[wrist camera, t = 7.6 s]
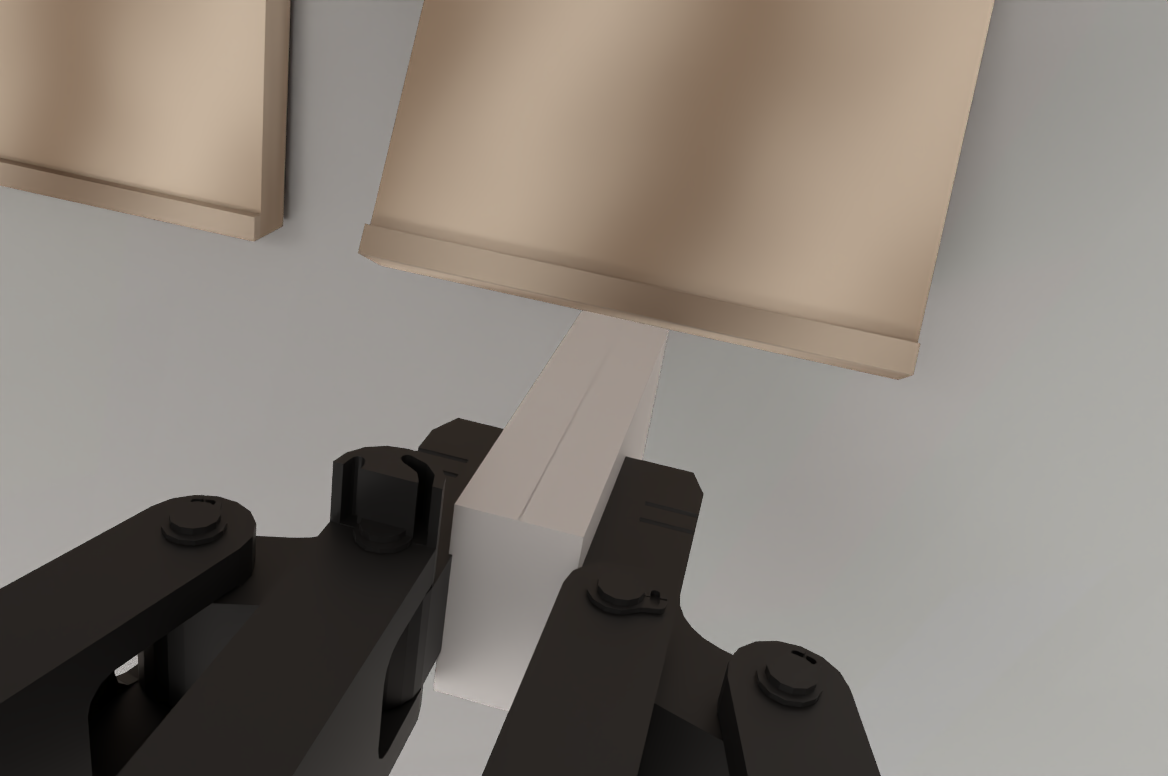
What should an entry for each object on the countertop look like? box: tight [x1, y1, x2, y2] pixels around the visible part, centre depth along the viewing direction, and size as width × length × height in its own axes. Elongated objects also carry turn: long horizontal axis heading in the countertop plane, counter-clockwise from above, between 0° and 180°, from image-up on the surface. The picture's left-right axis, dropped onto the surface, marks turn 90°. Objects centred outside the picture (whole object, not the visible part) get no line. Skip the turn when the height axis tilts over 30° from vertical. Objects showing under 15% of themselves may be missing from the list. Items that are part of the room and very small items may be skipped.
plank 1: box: [0, 0, 290, 241], centre depth 25 cm, size 11×8×2 cm
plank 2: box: [358, 0, 995, 380], centre depth 21 cm, size 11×8×2 cm
